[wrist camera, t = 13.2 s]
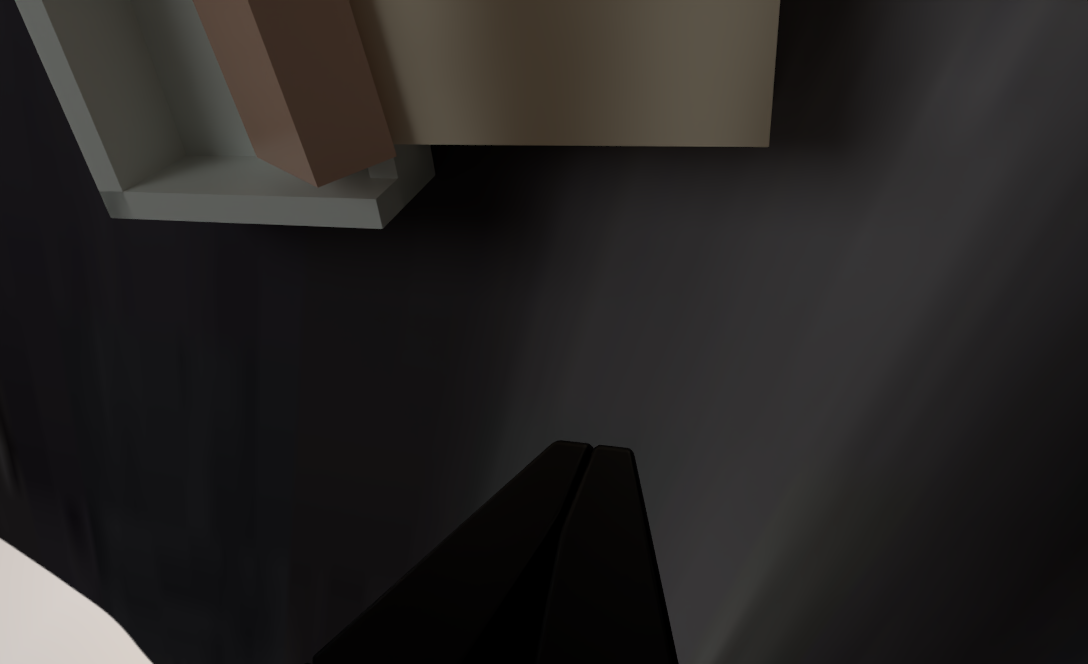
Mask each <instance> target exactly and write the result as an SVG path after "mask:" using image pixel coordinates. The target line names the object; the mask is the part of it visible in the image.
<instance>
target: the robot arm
mask: <svg viewBox="0 0 1088 664" xmlns="http://www.w3.org/2000/svg"><path fill="white" fill-rule="evenodd" d="M305 664H310V663H305ZM312 664H678V659H677V654H676V649H675V645H674V640H673V635H672V631H671V626H670V621H669V616H668V612H667V607H666V602H665V597H664V593H663V588H662V583H661V579H660V574H659V569H658V564H657V560H656V555H655V550H654V545H653V541H652V536H651V531H650V527H649V522H648V517H647V512H646V508H645V503H644V498H643V493H642V489H641V484H640V479H639V474H638V470H637V465H636V460H635V456H634V453H633V451H632V450H631V449H629V448H623V447H615V446H606V445H598V446H596V447H595V448H593V447H592V446H591V445H590V444H588V443H580V442H571V441H563V440H560V441H556V442H554V443H552V444H551V445H550V446H549V447H548V448H546V449H545V450H544V451H543V452H542V453H541V454H540V455H539V456H537V457H536V458H535V459H534V460H533V461H532V462H531V463H530V464H528V465H527V466H526V467H525V468H524V469H523V470H522V471H521V472H519V473H518V474H517V475H516V476H515V477H514V478H513V479H512V480H510V481H509V482H508V483H507V484H506V485H505V486H504V487H503V488H502V489H500V490H499V491H498V492H497V493H496V494H495V495H494V496H493V497H491V498H490V499H489V500H488V501H487V502H486V503H485V504H484V505H482V506H481V507H480V508H479V509H478V510H477V511H476V512H475V513H473V514H472V515H471V516H470V517H469V518H468V519H467V520H466V521H465V522H463V523H462V524H461V525H460V526H459V527H458V528H457V529H456V530H454V531H453V532H452V533H451V534H450V535H449V536H448V537H447V538H445V539H444V540H443V541H442V542H441V543H440V544H439V545H438V546H436V547H435V548H434V549H433V550H432V551H431V552H430V553H429V554H428V555H426V556H425V557H424V558H423V559H422V560H421V561H420V562H419V563H417V564H416V565H415V566H414V567H413V568H412V569H411V570H410V571H408V572H407V573H406V574H405V575H404V576H403V577H402V578H401V579H399V580H398V581H397V582H396V583H395V584H394V585H393V586H392V587H391V588H389V589H388V590H387V591H386V592H385V593H384V594H383V595H382V596H380V597H379V598H378V599H377V600H376V601H375V602H374V603H373V604H371V605H370V606H369V607H368V608H367V609H366V610H365V611H364V612H362V613H361V614H360V615H359V616H358V617H357V618H356V619H355V620H354V621H352V622H351V623H350V624H349V625H348V626H347V627H346V628H345V629H343V630H342V631H341V632H340V633H339V634H338V635H337V636H336V637H334V638H333V639H332V640H331V641H330V642H329V643H328V644H327V645H325V646H324V647H323V648H322V649H321V650H320V651H319V652H318V653H317V654H315V655H314V656H313V658H312Z"/></svg>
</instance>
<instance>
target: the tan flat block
mask: <svg viewBox="0 0 1088 664" xmlns="http://www.w3.org/2000/svg"><path fill="white" fill-rule="evenodd" d="M349 3H350V6H351V10H352V13H353V16H354V19H355V23H356V26H357V29H358V32H359V35H360V39H361V42H362V45H363V48H364V52H365V55H366V58H367V61H368V65H369V68H370V71H371V74H372V77H373V81H374V84H375V87H376V90H377V94H378V97H379V100H380V103H381V106H382V110H383V113H384V116H385V119H386V123H387V126H388V129H389V132H390V135H391V139H392V142H393V144H419V145H555V146H692V147H769V139H770V126H771V113H772V100H773V87H774V74H775V61H776V48H777V35H778V22H779V9H780V0H349Z"/></svg>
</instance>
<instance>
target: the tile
mask: <svg viewBox="0 0 1088 664" xmlns="http://www.w3.org/2000/svg"><path fill="white" fill-rule="evenodd" d="M192 1H193V3H194V5H195V8H196V10H197V13H198V15H199V18H200V20H201V22H202V25H203V27H204V30H205V32H206V35H207V37H208V39H209V42H210V44H211V47H212V49H213V52H214V54H215V57H216V59H217V61H218V64H219V66H220V69H221V71H222V74H223V76H224V78H225V81H226V83H227V86H228V88H229V91H230V93H231V95H232V98H233V100H234V103H235V105H236V108H237V110H238V113H239V115H240V117H241V120H242V122H243V125H244V127H245V130H246V132H247V134H248V137H249V139H250V142H251V144H252V147H253V149H254V152H255V154H256V156H257V158H259V159H261V160H263V161H265V162H267V163H269V164H271V165H273V166H275V167H277V168H279V169H281V170H283V171H285V172H287V173H289V174H291V175H293V176H295V177H297V178H299V179H301V180H303V181H305V182H307V183H309V184H311V185H313V186H315V187H317V188H318V187H321V186H323V185H326V184H328V183H331V182H333V181H336V180H338V179H341V178H343V177H346V176H349V175H351V174H354V173H356V172H359V171H361V170H364V169H366V168H369V167H371V166H374V165H376V164H379V163H381V162H384V161H386V160H389V159H391V158H394V157H396V156H397V155H396V152H395V148H394V145H393V142H392V139H391V135H390V132H389V129H388V126H387V123H386V119H385V116H384V113H383V110H382V106H381V103H380V100H379V97H378V94H377V90H376V87H375V84H374V81H373V77H372V74H371V71H370V68H369V65H368V61H367V58H366V55H365V52H364V48H363V45H362V42H361V39H360V35H359V32H358V29H357V26H356V23H355V19H354V16H353V13H352V10H351V6H350V3H349V0H192Z"/></svg>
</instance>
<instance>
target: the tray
mask: <svg viewBox="0 0 1088 664" xmlns="http://www.w3.org/2000/svg"><path fill="white" fill-rule="evenodd" d="M15 2H16V4H17V6H18V9H19V11H20V13H21V15H22V18H23V20H24V22H25V25H26V27H27V29H28V31H29V34H30V36H31V38H32V40H33V43H34V45H35V47H36V49H37V52H38V54H39V56H40V58H41V61H42V63H43V65H44V68H45V70H46V72H47V74H48V77H49V79H50V81H51V83H52V86H53V88H54V90H55V92H56V95H57V97H58V99H59V101H60V104H61V106H62V108H63V111H64V113H65V115H66V117H67V120H68V122H69V124H70V126H71V129H72V131H73V133H74V135H75V138H76V140H77V142H78V144H79V147H80V149H81V151H82V154H83V156H84V158H85V160H86V163H87V165H88V167H89V169H90V172H91V174H92V176H93V178H94V181H95V183H96V185H97V187H98V190H99V192H100V194H101V197H102V199H103V201H104V203H105V206H106V208H107V210H108V212H109V215H110V217H111V218H126V219H151V220H176V221H200V222H225V223H249V224H274V225H298V226H323V227H347V228H372V229H383V228H384V227H385V226H386V225H387V224H388V223H389V222H390V221H391V220H392V219H393V218H394V217H395V216H396V215H397V214H398V213H399V212H400V211H401V210H402V209H403V208H404V207H405V206H406V205H407V204H408V203H409V202H410V200H411V199H412V198H413V197H414V196H415V195H416V194H417V193H418V192H419V191H420V190H421V189H422V188H423V187H424V186H425V185H426V184H427V183H428V182H429V181H430V180H431V179H432V178H433V177H434V176H435V169H434V163H433V158H432V152H431V146H430V145H419V144H393V145H394V148H395V152H396V155H397V156H396V157H394V158H391V159H389V160H386V161H384V162H381V163H379V164H376V165H374V166H371V167H369V168H366V169H364V170H361V171H359V172H356V173H354V174H351V175H349V176H346V177H343V178H341V179H338V180H336V181H333V182H331V183H328V184H326V185H323V186H321V187H318V188H317V187H315V186H313V185H311V184H309V183H307V182H305V181H303V180H301V179H299V178H297V177H295V176H293V175H291V174H289V173H287V172H285V171H283V170H281V169H279V168H277V167H275V166H273V165H271V164H269V163H267V162H265V161H263V160H261V159H259V158H257V156H256V154H255V152H254V149H253V147H252V144H251V142H250V139H249V137H248V134H247V132H246V130H245V127H244V125H243V122H242V120H241V117H240V115H239V113H238V110H237V108H236V105H235V103H234V100H233V98H232V95H231V93H230V91H229V88H228V86H227V83H226V81H225V78H224V76H223V74H222V71H221V69H220V66H219V64H218V61H217V59H216V57H215V54H214V52H213V49H212V47H211V44H210V42H209V39H208V37H207V35H206V32H205V30H204V27H203V25H202V22H201V20H200V18H199V15H198V13H197V10H196V8H195V5H194V3H193V1H192V0H15Z"/></svg>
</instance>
